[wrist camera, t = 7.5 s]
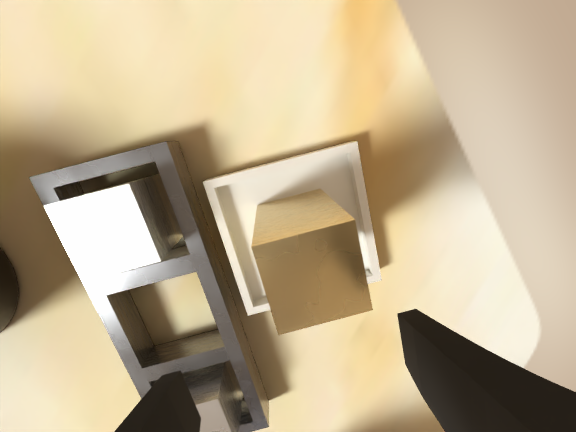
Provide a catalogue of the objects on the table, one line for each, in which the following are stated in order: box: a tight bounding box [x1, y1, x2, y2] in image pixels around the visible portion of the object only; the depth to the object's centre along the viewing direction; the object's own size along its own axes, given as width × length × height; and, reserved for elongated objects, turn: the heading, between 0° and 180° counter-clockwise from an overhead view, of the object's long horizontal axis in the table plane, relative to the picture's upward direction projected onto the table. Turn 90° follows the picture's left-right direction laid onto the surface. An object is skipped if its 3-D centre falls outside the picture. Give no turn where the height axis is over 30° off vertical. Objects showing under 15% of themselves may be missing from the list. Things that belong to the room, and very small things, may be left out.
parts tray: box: [203, 141, 382, 316], centre depth 18 cm, size 9×9×1 cm
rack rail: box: [29, 141, 269, 432], centre depth 17 cm, size 20×7×4 cm, turn 14°
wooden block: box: [251, 189, 373, 335], centre depth 14 cm, size 4×4×7 cm
